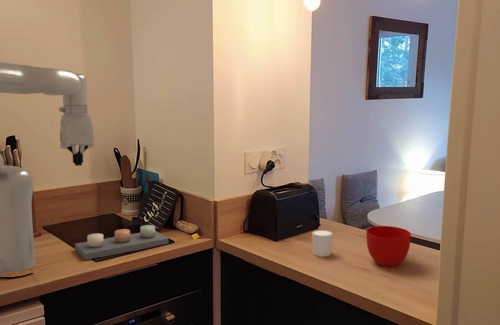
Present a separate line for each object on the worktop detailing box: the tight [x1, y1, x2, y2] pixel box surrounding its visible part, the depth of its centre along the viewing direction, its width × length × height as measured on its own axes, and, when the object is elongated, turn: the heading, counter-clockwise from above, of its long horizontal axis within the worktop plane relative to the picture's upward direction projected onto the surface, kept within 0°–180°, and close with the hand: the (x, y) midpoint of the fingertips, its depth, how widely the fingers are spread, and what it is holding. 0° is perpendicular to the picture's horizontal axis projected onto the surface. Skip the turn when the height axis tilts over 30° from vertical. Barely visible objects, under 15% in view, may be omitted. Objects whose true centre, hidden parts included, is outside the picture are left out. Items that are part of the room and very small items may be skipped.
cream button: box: [86, 232, 105, 247], centre depth 149 cm, size 5×5×3 cm
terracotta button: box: [114, 228, 131, 242], centre depth 154 cm, size 5×5×3 cm
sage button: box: [139, 224, 156, 238], centre depth 159 cm, size 5×5×3 cm
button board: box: [74, 230, 170, 261], centre depth 154 cm, size 28×12×2 cm, turn 125°
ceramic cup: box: [365, 225, 412, 268], centre depth 141 cm, size 13×17×10 cm
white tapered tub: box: [311, 229, 334, 257], centre depth 148 cm, size 7×7×7 cm
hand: (78, 165), depth 155 cm, fingers closed
